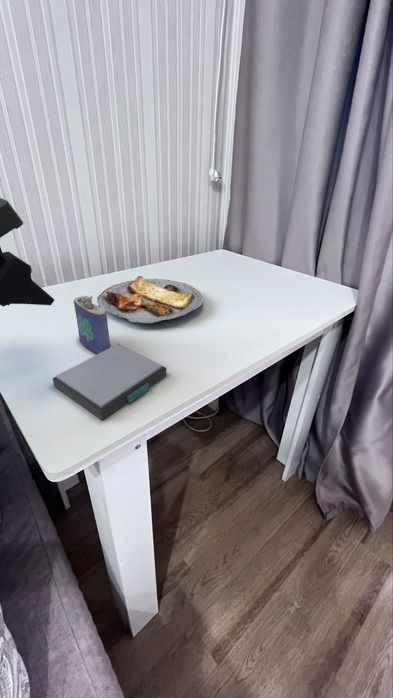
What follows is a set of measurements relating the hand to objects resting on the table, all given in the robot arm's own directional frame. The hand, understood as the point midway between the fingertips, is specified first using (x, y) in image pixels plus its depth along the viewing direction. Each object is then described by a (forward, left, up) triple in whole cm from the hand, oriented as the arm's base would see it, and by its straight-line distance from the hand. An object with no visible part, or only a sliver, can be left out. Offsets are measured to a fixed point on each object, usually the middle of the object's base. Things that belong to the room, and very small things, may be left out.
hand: (40, 292), depth 53 cm
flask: (+8, -1, -13) cm, 15 cm away
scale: (+3, -12, -13) cm, 18 cm away
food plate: (+29, +4, -13) cm, 32 cm away
